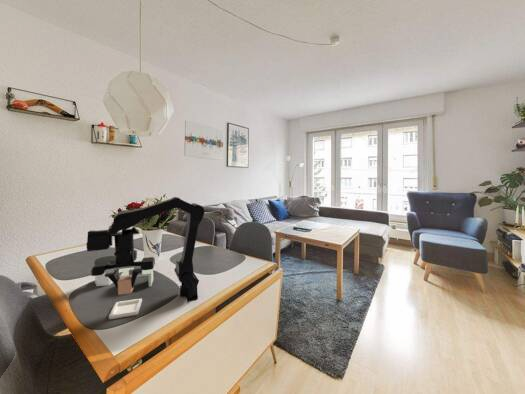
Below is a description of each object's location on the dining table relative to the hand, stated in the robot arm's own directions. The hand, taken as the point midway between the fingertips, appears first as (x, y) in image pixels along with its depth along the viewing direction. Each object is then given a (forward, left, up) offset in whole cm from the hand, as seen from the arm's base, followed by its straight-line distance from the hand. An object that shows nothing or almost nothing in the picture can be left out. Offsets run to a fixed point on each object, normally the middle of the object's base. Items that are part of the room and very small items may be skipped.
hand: (126, 288), depth 79 cm
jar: (+14, -27, -10) cm, 32 cm away
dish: (0, 0, -8) cm, 8 cm away
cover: (0, -19, -8) cm, 21 cm away
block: (0, 0, -1) cm, 1 cm away
